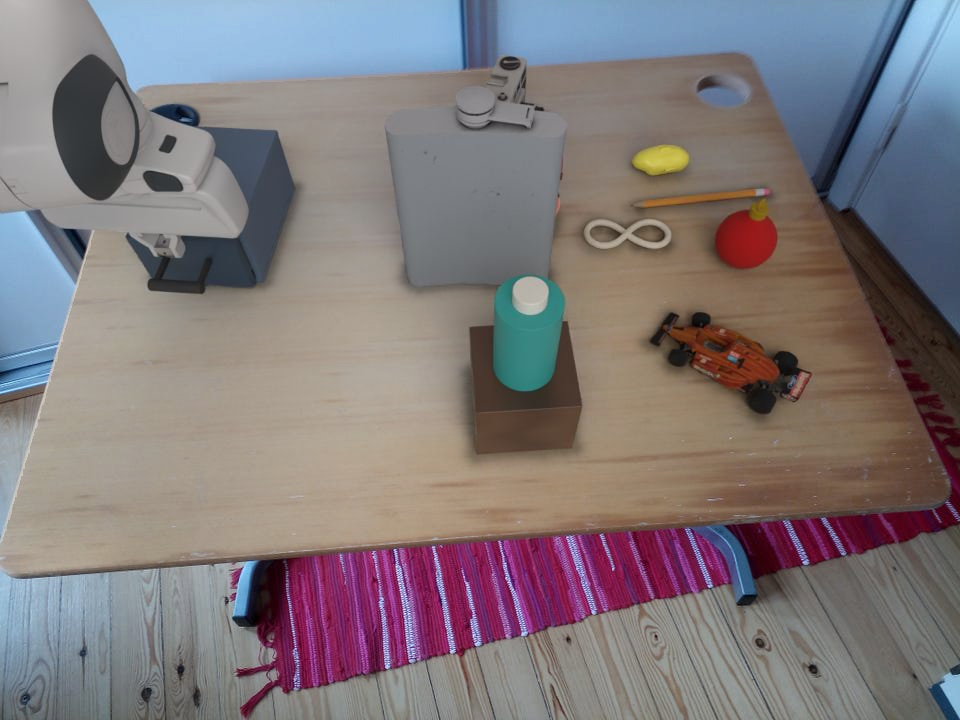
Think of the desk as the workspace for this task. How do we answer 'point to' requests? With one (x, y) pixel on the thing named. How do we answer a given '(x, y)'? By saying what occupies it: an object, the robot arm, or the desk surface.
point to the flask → (475, 188)
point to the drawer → (197, 265)
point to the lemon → (661, 159)
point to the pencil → (702, 198)
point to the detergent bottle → (527, 331)
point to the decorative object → (627, 234)
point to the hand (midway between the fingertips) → (170, 253)
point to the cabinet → (257, 187)
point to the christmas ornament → (747, 237)
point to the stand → (523, 402)
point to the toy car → (734, 361)
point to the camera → (510, 81)
